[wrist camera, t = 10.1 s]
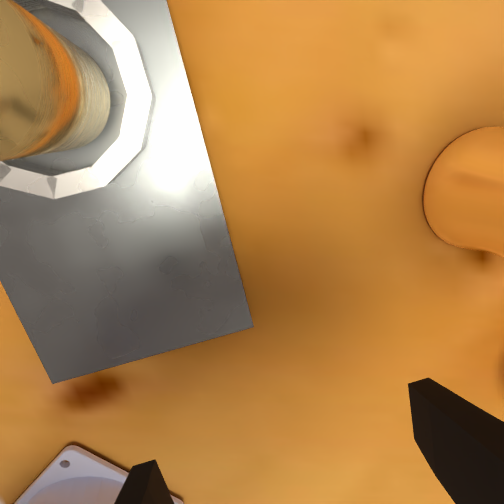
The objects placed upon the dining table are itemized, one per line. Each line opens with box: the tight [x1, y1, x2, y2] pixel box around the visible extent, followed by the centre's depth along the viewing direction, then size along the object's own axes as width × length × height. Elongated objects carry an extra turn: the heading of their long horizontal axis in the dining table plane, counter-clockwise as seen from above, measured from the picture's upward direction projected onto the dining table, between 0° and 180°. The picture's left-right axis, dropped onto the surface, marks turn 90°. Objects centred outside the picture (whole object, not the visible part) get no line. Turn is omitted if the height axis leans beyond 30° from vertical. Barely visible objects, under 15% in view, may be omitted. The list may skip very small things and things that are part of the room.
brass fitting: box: [0, 0, 111, 161], centre depth 11 cm, size 4×4×7 cm
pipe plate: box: [0, 0, 254, 384], centre depth 15 cm, size 18×10×2 cm, turn 13°
